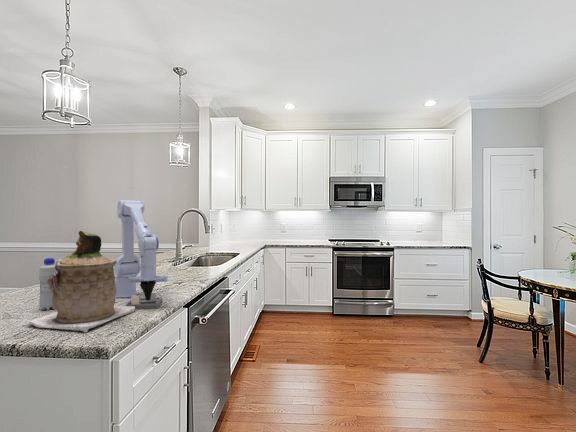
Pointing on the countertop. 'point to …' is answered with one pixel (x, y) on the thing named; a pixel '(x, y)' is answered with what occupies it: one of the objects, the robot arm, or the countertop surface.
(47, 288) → the bottle
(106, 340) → the countertop surface
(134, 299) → the tab
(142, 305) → the tray
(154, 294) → the tab
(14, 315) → the countertop surface
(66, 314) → the cookie jar
